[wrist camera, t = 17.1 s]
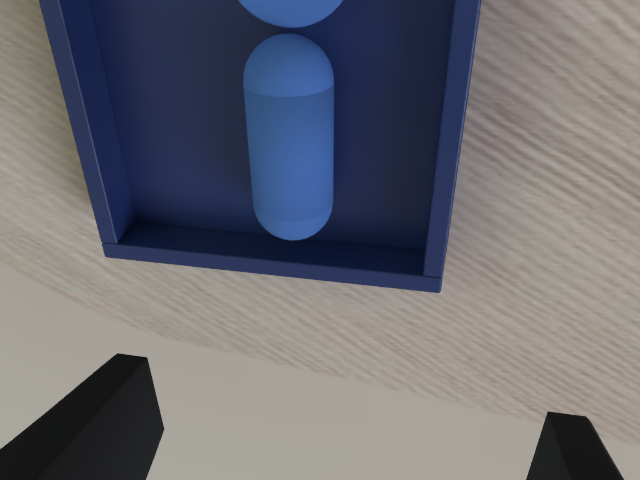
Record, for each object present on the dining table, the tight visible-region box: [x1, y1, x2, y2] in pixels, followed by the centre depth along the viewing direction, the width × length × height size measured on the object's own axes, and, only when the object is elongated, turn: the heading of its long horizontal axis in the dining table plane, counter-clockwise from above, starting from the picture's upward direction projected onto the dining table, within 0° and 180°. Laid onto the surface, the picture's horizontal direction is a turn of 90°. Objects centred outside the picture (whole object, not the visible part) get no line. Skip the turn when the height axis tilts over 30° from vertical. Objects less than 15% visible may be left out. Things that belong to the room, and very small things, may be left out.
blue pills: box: [238, 0, 343, 240], centre depth 15 cm, size 10×3×2 cm, turn 0°
